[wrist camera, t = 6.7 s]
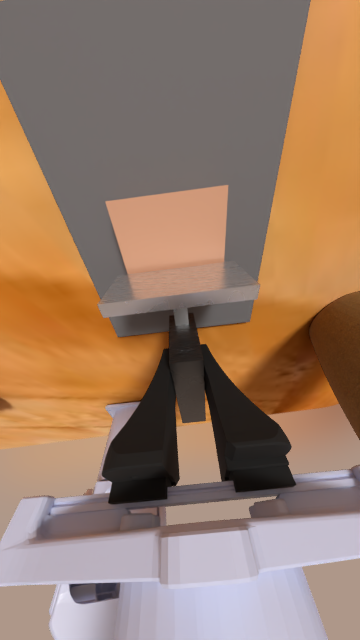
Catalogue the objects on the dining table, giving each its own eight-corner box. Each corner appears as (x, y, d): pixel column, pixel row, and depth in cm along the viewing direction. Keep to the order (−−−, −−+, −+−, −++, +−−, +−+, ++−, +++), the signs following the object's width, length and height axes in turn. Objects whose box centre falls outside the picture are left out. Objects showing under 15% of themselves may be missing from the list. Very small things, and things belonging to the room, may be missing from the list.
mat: (247, 318, 17) (249, 321, 17) (119, 334, 17) (118, 337, 17) (311, -37, 7) (320, -53, 6) (-22, 18, 7) (-34, 6, 6)
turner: (224, 368, 18) (240, 417, 14) (153, 376, 18) (148, 426, 14) (233, 261, 11) (270, 294, 7) (118, 275, 11) (88, 315, 7)
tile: (222, 296, 13) (228, 184, 9) (137, 306, 13) (105, 201, 9) (217, 288, 14) (221, 186, 10) (140, 297, 14) (112, 201, 10)
